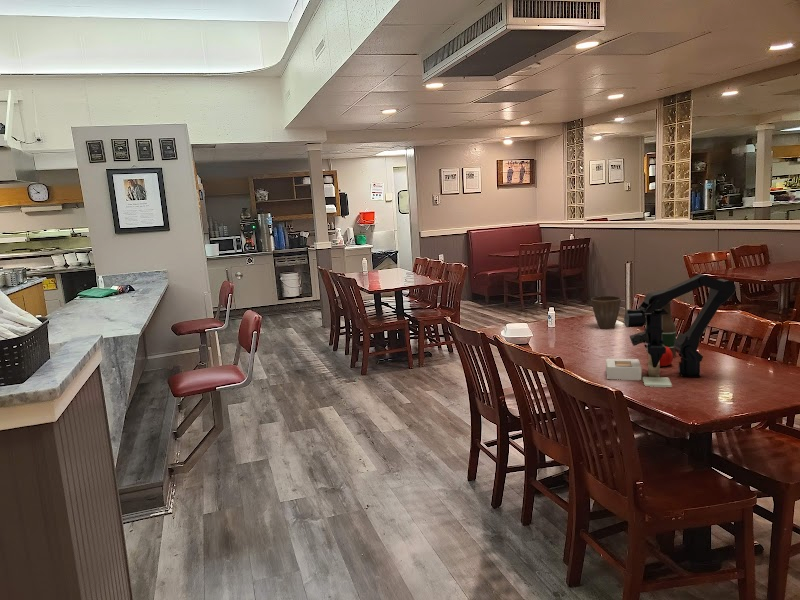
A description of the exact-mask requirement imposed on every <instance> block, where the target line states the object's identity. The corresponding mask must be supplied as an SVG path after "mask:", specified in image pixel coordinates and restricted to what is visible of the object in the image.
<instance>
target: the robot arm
mask: <svg viewBox="0 0 800 600" xmlns="http://www.w3.org/2000/svg"><path fill="white" fill-rule="evenodd" d="M701 287H706V288H709V290H708V297H707V300H706V302H705V303H704V305H703V306H702V308H701V310H699V311H700V312H699V313H698V315H697V316H696V317H695V319H694V320H693V322H692V324H691V325H690V327H689V328H688V330H687V331H686V332H684V333H682V332H679V333H678V335H677V336H676V340H674V342H675V343H674V349H675V351H676V354H678V356H679V357H680V359H679V361H678V373H679V374H680V376H681V375H682V376H681V377H683V376H689V377H688V378H692V377H693V378H702V375H701V372H700V371H701V362H702V360H703V358H704V356H703V355H702V354H701V353H699V351H698V349H699V345H700V338H701V336H702V335H703V333H704V332H705V330H706V329H707V327H708V326H709V324H710V322H711V321H712V319H713V318H714V316H715V314H716V313H717V311H718V310H719V308H720V307H721V305H722V304H724V303H726V302H727V301H728V300H729V299H731V297H732V296H733V295H734V294H735V293H736V291H737V287H736V284H735V283H734V282H733V281H731V280H728V279H723V278H713V277H710V276H708V275H706V274H702V273H699V274H696V275H695V276H693V277H690V278H688V279H686V280H684V281H682V282H679V283H677V284H675V285H673V286H671V287H668V288H665V289H660V290H654V291H651V292H648V293H646V294H645V296H644V298H643V301H642V303H640V305H639V306H638V308H637V309H631V308H630V309H626V310H625V313H624V316H623V322H624V325H625V328H641V327H644V326H645V327H644V330H643V331H641V332H638V333H635V334H631V335H629V339H630V340H631V341H630V342H631V344H632V346H633V347H636V346H638V345H639V344H644V348H645V349H646V353H647V354H648V353H649V354H650V355H651V360H652V365H653V368H656V367H657V365H658V363H659V361H660V359H661V357H662V355H663V354H665V353H666V348H665V346H664V345H663V344H659V343H663V340H662V333H663V329H662V315H666V314H668V312H667V311H665V309H664V308H663V307H664V306H666V305H667V304H668V303H669V302H670V301H671V302H672V301H673V300H674V299H678V298H679V297H681V296H683V295H685V294H687V293H688V294H689V293H690V292H692V291H695V290H698V289H699V288H701ZM690 376H691V377H690Z"/></svg>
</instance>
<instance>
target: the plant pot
mask: <svg viewBox="0 0 800 600" xmlns="http://www.w3.org/2000/svg"><path fill="white" fill-rule="evenodd" d="M590 300H591V301H590V302H591V305H592V309H593V310H592V311H593V313H594V317H595V321H596V323H597V325H598V328H599V329H600V330H611V329H614V328H615V326H616V324H617V320H618V318H619V314H620V308H621V301H622V298H621V297H620V296H616V295H615V296H613V295H605V296H604V295H602V296H595V297H591V298H590Z"/></svg>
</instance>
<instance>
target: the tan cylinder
mask: <svg viewBox="0 0 800 600" xmlns="http://www.w3.org/2000/svg"><path fill="white" fill-rule="evenodd" d="M660 368H661V366H660V361H659V363H658V365H657V367H656V368H653V365H652V360H651V355H650V354H649V353H647V374H648V375H647V377H661V376H660V372H661V371H660Z"/></svg>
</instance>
